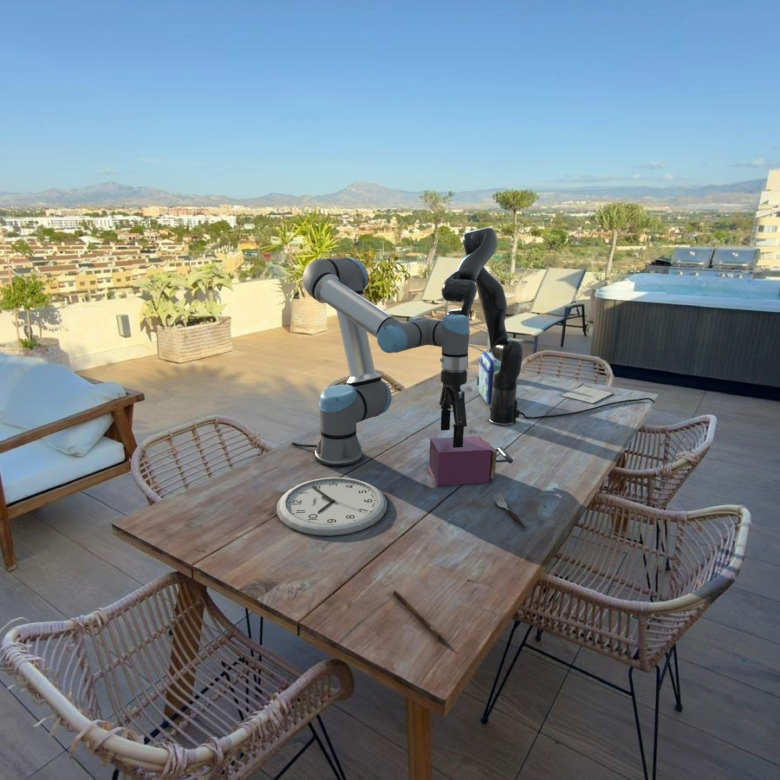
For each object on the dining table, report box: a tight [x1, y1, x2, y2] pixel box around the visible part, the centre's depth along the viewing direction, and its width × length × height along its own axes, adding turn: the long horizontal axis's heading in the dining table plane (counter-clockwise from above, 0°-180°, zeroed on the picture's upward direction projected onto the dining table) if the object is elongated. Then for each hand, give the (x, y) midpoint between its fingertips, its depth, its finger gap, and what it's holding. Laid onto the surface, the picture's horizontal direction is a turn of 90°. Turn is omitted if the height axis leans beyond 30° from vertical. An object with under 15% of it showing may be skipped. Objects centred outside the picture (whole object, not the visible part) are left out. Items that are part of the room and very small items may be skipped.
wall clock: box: [276, 476, 388, 537], centre depth 142 cm, size 30×2×30 cm
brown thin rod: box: [392, 590, 441, 641], centre depth 102 cm, size 15×1×1 cm, turn 34°
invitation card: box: [560, 385, 613, 404], centre depth 242 cm, size 21×1×15 cm
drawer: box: [483, 438, 514, 479], centre depth 160 cm, size 20×9×9 cm, turn 100°
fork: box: [493, 492, 526, 529], centre depth 140 cm, size 3×16×2 cm, turn 15°
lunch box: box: [476, 351, 501, 406], centre depth 230 cm, size 26×11×21 cm, turn 179°
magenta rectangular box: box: [428, 435, 492, 487], centre depth 159 cm, size 16×11×11 cm, turn 100°
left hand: (451, 438), depth 156 cm, fingers open, 13 cm apart
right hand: (452, 392), depth 170 cm, fingers open, 8 cm apart
